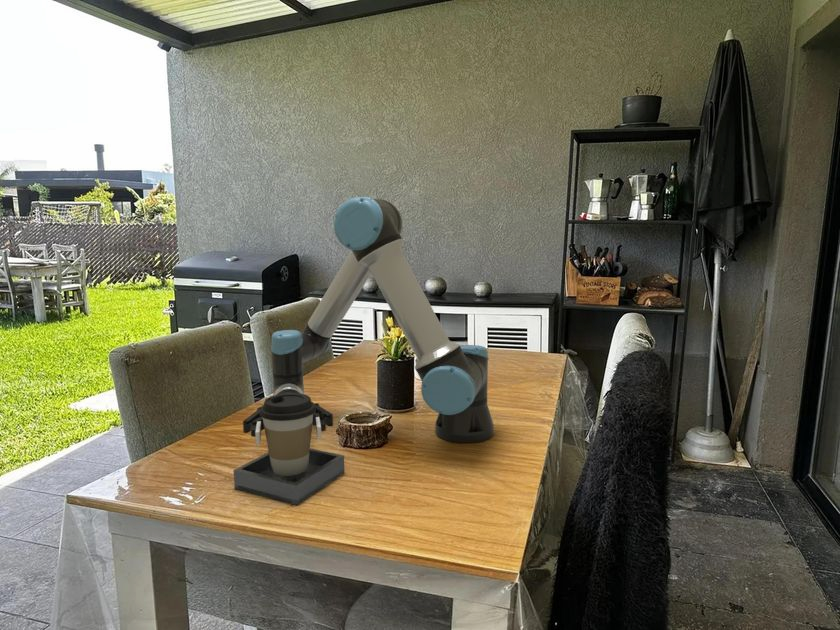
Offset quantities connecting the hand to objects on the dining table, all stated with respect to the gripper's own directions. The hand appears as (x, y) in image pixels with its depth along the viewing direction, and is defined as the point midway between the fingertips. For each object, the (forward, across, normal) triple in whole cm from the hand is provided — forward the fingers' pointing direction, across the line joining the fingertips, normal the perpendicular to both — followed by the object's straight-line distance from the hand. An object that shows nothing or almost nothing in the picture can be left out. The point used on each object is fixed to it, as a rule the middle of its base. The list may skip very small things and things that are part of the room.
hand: (288, 436), depth 111 cm
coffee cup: (-4, 0, -9) cm, 10 cm away
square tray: (-4, 0, -11) cm, 12 cm away
